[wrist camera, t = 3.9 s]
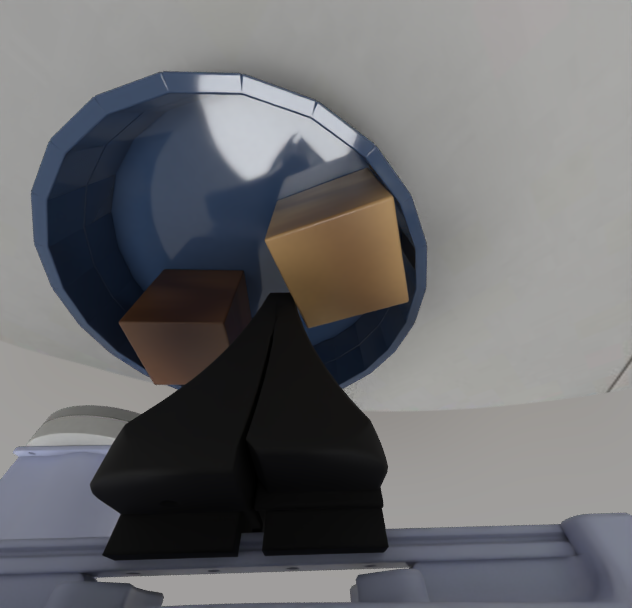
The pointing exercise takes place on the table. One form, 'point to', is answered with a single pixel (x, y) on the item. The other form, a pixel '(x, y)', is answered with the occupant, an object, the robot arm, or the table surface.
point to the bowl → (203, 202)
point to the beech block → (339, 249)
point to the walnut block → (186, 321)
